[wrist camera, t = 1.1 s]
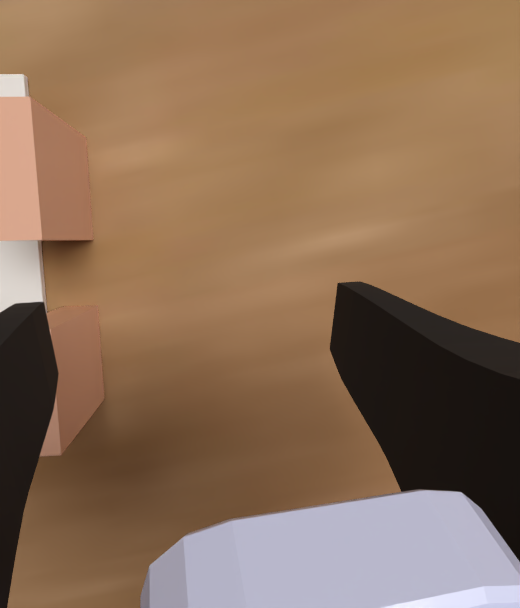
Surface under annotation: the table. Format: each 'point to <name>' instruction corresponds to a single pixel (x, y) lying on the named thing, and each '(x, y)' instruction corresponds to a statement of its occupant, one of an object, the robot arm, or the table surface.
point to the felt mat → (20, 254)
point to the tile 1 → (42, 175)
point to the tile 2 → (74, 374)
